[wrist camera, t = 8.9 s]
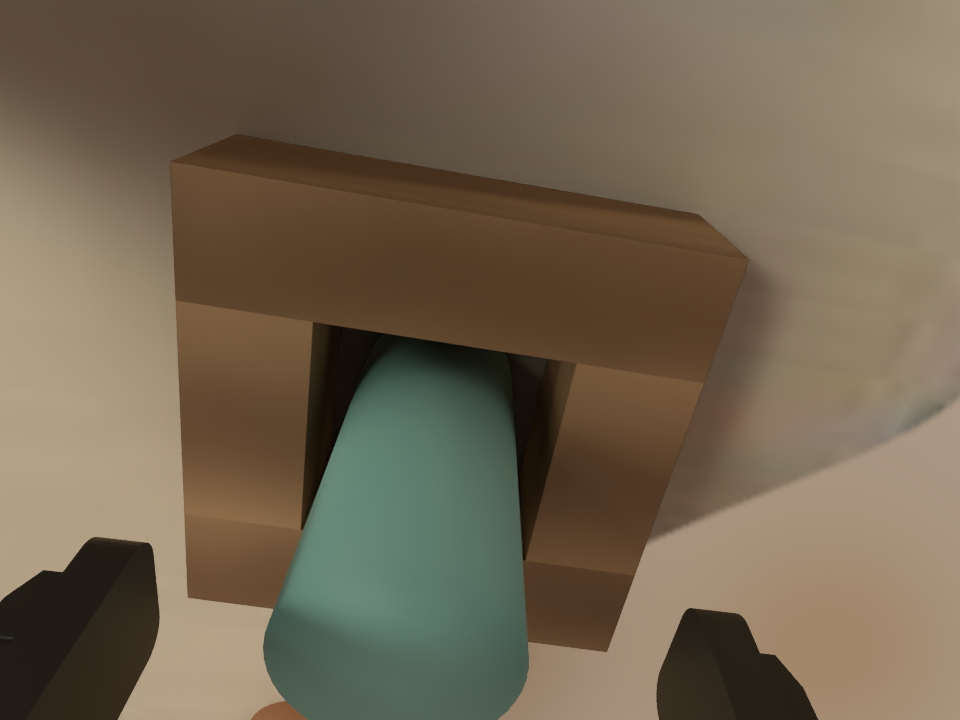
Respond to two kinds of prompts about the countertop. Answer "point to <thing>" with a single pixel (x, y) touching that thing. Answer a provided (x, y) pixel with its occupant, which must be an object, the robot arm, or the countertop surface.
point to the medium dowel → (410, 549)
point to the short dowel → (278, 712)
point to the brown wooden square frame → (443, 318)
